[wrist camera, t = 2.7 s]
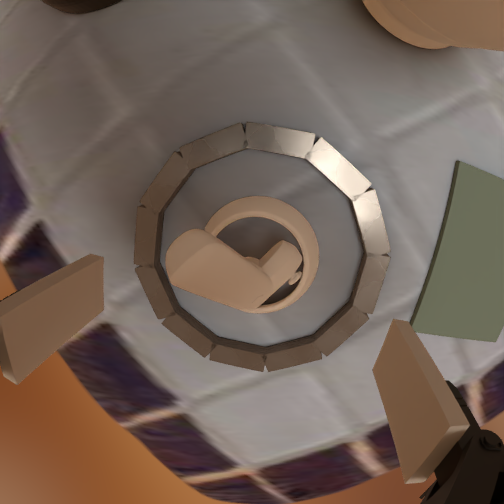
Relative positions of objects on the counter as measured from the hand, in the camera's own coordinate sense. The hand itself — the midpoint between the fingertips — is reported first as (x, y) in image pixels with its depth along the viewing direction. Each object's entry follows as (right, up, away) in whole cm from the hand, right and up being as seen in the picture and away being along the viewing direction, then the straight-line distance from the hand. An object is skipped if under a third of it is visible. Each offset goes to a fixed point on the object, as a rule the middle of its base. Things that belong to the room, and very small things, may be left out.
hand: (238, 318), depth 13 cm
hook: (+1, +3, +7) cm, 8 cm away
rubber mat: (+17, +2, +5) cm, 18 cm away
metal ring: (+1, +3, +7) cm, 8 cm away
